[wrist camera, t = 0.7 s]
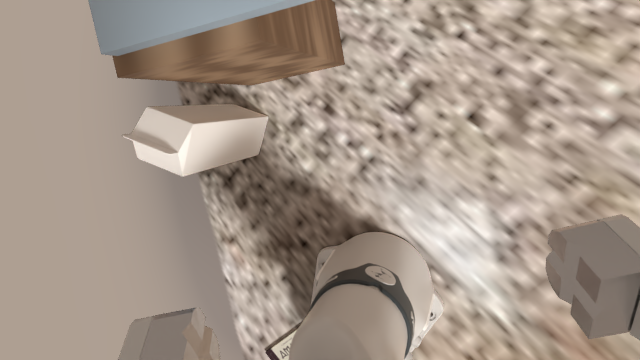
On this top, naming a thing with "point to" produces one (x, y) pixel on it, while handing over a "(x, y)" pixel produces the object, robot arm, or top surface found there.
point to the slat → (169, 19)
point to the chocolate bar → (281, 349)
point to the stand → (245, 49)
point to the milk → (197, 136)
